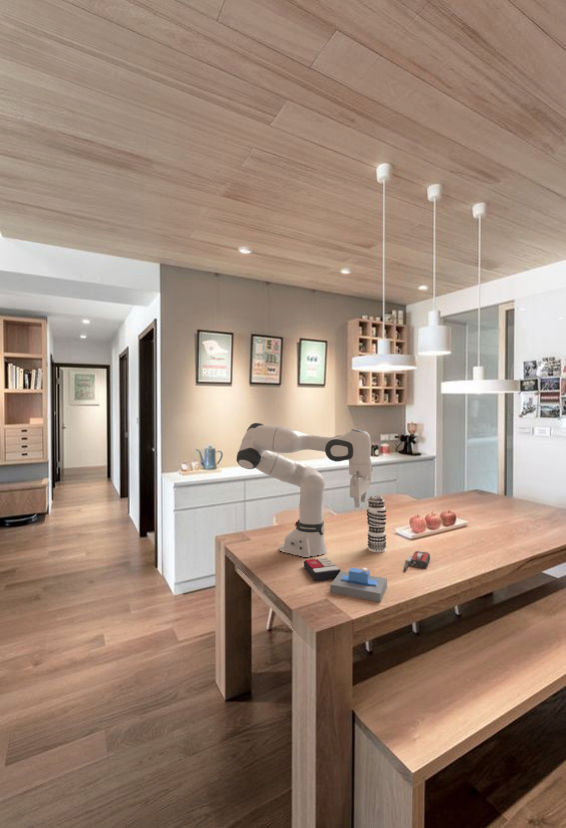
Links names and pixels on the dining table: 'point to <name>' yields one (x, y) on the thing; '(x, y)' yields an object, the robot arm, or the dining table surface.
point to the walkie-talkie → (418, 560)
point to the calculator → (321, 569)
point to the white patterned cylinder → (376, 524)
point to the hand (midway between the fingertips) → (360, 504)
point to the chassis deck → (359, 588)
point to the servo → (359, 577)
